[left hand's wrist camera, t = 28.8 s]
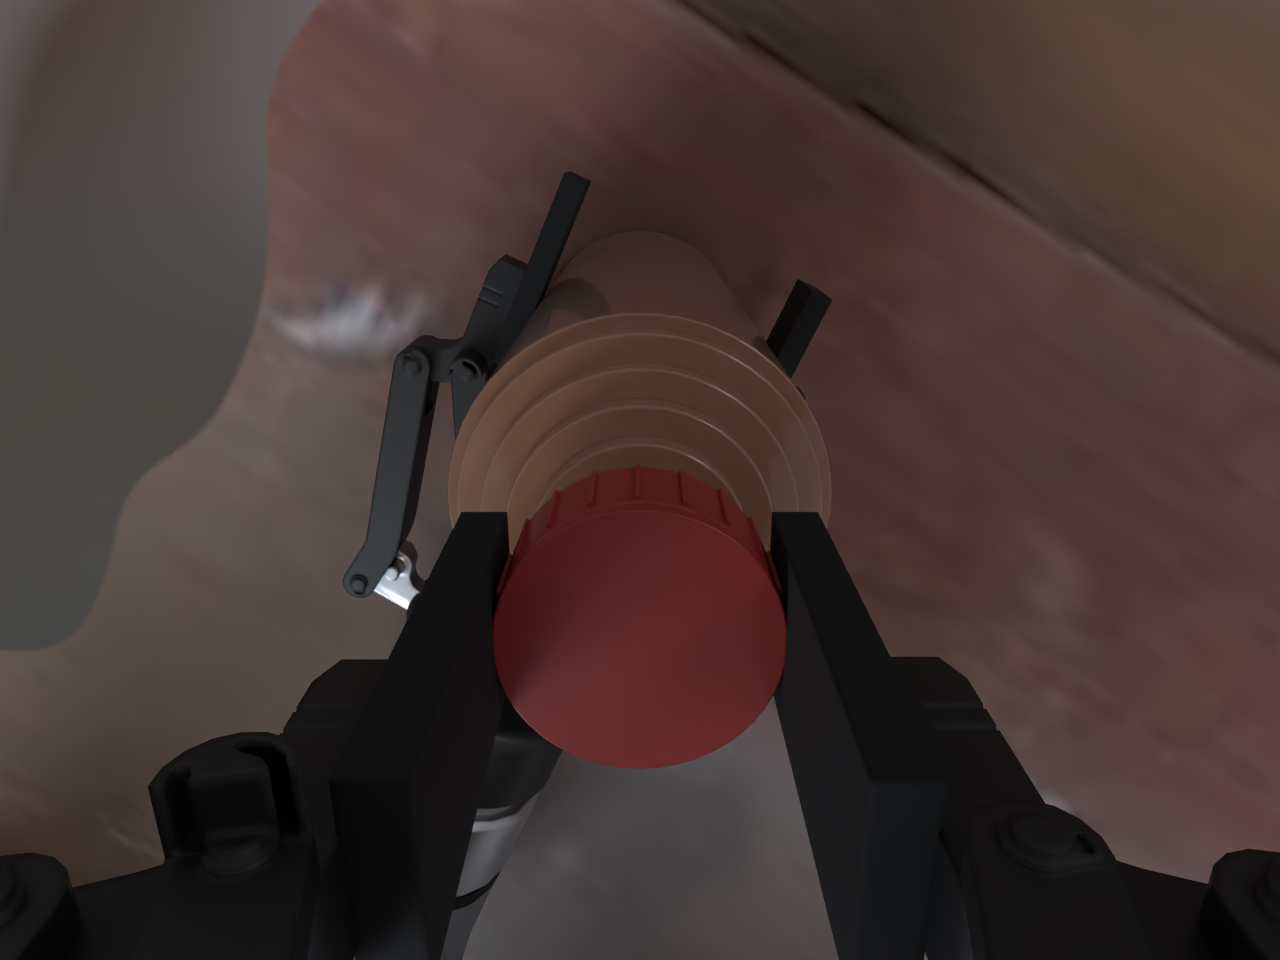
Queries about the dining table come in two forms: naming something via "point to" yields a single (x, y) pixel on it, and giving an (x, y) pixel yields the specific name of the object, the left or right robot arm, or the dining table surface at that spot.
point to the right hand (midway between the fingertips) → (698, 234)
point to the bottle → (639, 393)
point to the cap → (639, 619)
